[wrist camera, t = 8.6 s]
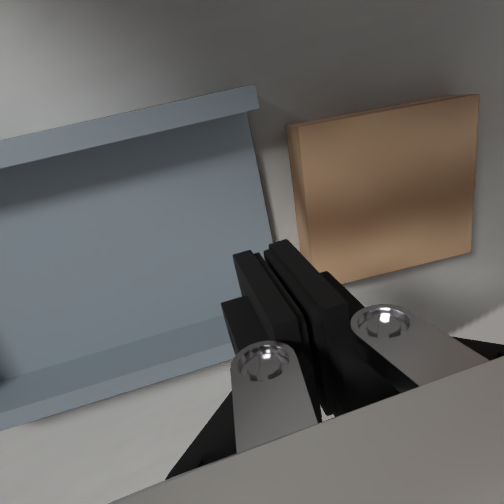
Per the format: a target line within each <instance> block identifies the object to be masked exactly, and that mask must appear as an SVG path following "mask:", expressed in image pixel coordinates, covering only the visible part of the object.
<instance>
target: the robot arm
mask: <svg viewBox="0 0 504 504" xmlns="http://www.w3.org/2000/svg"><path fill="white" fill-rule="evenodd" d="M263 253H264V259H265V260H264V259H263V257H262V256H261V254H260V253H259V252H257V253H254V254H253V252H252V251H251V250H247V251H243V252H240V253H236V254H233V261H234V265H235V270H236V274H237V278H238V282H239V286H240V290H241V295H242V297H238V298H235V299H232V300H228V301H225V302H222V303H221V307H222V311H223V315H224V319H225V323H226V326H227V330H228V333H229V337H230V340H231V343H232V347H233V350H234V353H235V357H234V359H233V360H232V362H231V368H230V372H231V385H232V391H231V392H230V394H229V395H228V396H227V398H226V399H225V400H224V402H223V403H222V404H221V406H220V407H219V408H218V410H217V411H216V412H215V413H214V415H213V416H212V417H211V419H210V420H209V421H208V423H207V424H206V425H205V427H204V428H203V429H202V431H201V432H200V433H199V435H198V436H197V437H196V438H195V440H194V441H193V442H192V444H191V445H190V446H189V448H188V449H187V450H186V452H185V453H184V454H183V456H182V457H181V458H180V460H179V461H178V462H177V464H176V465H175V466H174V467H173V469H172V470H171V471H170V473H169V474H168V476H167V478H166V480H165V481H162V482H160V483H157V484H155V485H152V486H150V487H147V488H145V489H143V490H140V491H138V492H135V493H133V494H130V495H128V496H125V497H123V498H120V499H118V500H115V501H113V502H111V503H109V504H504V345H501V344H495V343H489V342H482V341H476V340H470V339H463V338H457V337H451V336H449V335H448V334H446V333H444V332H443V331H441V330H440V329H438V328H436V327H435V326H433V325H431V324H430V323H428V322H427V321H425V320H423V319H422V318H420V317H418V316H417V315H415V314H414V313H412V312H410V311H409V310H407V309H404V308H402V307H399V306H395V305H388V304H379V305H371V306H368V307H364V306H363V305H362V304H361V303H360V302H359V301H358V300H357V299H356V298H355V297H354V296H353V295H352V294H351V293H350V292H349V291H348V290H347V289H346V288H345V287H344V286H343V285H342V284H341V283H340V282H338V281H337V280H336V279H335V278H334V277H333V276H332V275H331V274H330V273H329V272H328V271H324V272H320V273H319V272H318V271H317V270H316V269H315V268H314V267H313V265H312V264H311V263H310V262H309V261H308V260H307V259H306V258H305V257H304V256H303V255H302V254H301V253H300V252H299V251H298V250H297V249H296V248H295V247H294V246H293V245H292V244H291V243H290V242H289V241H288V240H287V239H285V240H282V241H278V242H275V243H271V244H269V249H268V250H264V252H263ZM320 405H321V407H322V409H323V411H324V412H325V414H326V415H327V416H329V415H332V414H334V416H335V417H334V418H332V419H329V420H326V421H323V422H322V419H321V418H322V415H321V409H320Z"/></svg>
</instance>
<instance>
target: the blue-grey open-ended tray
mask: <svg viewBox="0 0 504 504" xmlns="http://www.w3.org/2000/svg"><path fill="white" fill-rule="evenodd" d="M255 109H260V107H259V101H258V96H257V91H256V85H255V84H252V85H247V86H243V87H238V88H234V89H229V90H225V91H220V92H216V93H211V94H207V95H202V96H198V97H193V98H189V99H184V100H180V101H175V102H171V103H166V104H162V105H157V106H153V107H148V108H144V109H139V110H135V111H130V112H126V113H122V114H117V115H113V116H108V117H104V118H99V119H95V120H90V121H86V122H81V123H77V124H72V125H68V126H63V127H59V128H54V129H50V130H45V131H41V132H36V133H32V134H27V135H23V136H18V137H14V138H10V139H5V140H1V141H0V431H3V430H6V429H9V428H12V427H15V426H19V425H22V424H25V423H28V422H31V421H35V420H38V419H41V418H44V417H48V416H51V415H54V414H57V413H60V412H64V411H67V410H70V409H73V408H76V407H80V406H83V405H86V404H89V403H92V402H96V401H99V400H102V399H105V398H109V397H112V396H115V395H118V394H121V393H125V392H128V391H131V390H134V389H137V388H141V387H144V386H147V385H150V384H154V383H157V382H160V381H163V380H166V379H170V378H173V377H176V376H179V375H182V374H186V373H189V372H192V371H195V370H198V369H202V368H205V367H208V366H211V365H215V364H218V363H221V362H224V361H227V360H231V359H234V357H235V353H234V350H233V347H232V343H231V340H230V337H229V333H228V330H227V326H226V323H225V319H224V315H223V311H222V307H221V303H222V302H225V301H228V300H232V299H235V298H238V297H242V295H241V290H240V286H239V282H238V278H237V274H236V270H235V265H234V261H233V254H236V253H240V252H243V251H247V250H251V251H252V252H253V254H254V253H257V252H259V253H260V254H261V256H262V257H263V259H264V253H263V252H264V250H268V249H269V244H271V243H273V241H272V236H271V231H270V226H269V221H268V216H267V211H266V206H265V201H264V196H263V191H262V186H261V181H260V176H259V171H258V166H257V161H256V156H255V151H254V146H253V141H252V136H251V131H250V126H249V121H248V116H247V111H251V110H255ZM264 260H265V259H264Z"/></svg>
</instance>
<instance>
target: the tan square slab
mask: <svg viewBox="0 0 504 504" xmlns="http://www.w3.org/2000/svg"><path fill="white" fill-rule="evenodd" d="M478 112H479V94H468V95H451V96H445V97H440V98H434V99H428V100H423V101H417V102H412V103H406V104H401V105H395V106H389V107H384V108H378V109H373V110H367V111H362V112H356V113H351V114H345V115H339V116H334V117H328V118H323V119H317V120H312V121H306V122H300V123H295V124H289V125H286V133H287V141H288V150H289V159H290V167H291V176H292V185H293V193H294V202H295V211H296V220H297V228H298V237H299V246H300V253H301V254H302V255H303V256H304V257H305V258H306V259H307V260H308V261H309V262H310V263H311V264H312V265H313V267H314V268H315V269H316V270H317V271H318V272H319V273H320V272H324V271H328V272H329V273H330V274H331V275H332V276H333V277H334V278H335V279H336V280H337V281H338V282H340V283H341V284H344V283H348V282H352V281H356V280H360V279H364V278H368V277H372V276H376V275H380V274H384V273H388V272H392V271H397V270H401V269H405V268H409V267H413V266H417V265H421V264H425V263H429V262H433V261H437V260H441V259H445V258H449V257H453V256H457V255H461V254H465V253H469V252H471V239H472V220H473V202H474V184H475V166H476V148H477V130H478Z"/></svg>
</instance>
